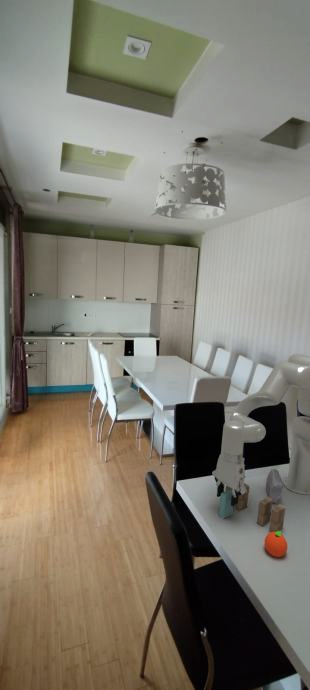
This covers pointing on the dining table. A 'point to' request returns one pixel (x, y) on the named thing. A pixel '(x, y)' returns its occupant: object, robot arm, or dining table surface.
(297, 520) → the dining table surface
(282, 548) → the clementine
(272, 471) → the stone block
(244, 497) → the domino
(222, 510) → the domino
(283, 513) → the domino
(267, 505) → the domino
